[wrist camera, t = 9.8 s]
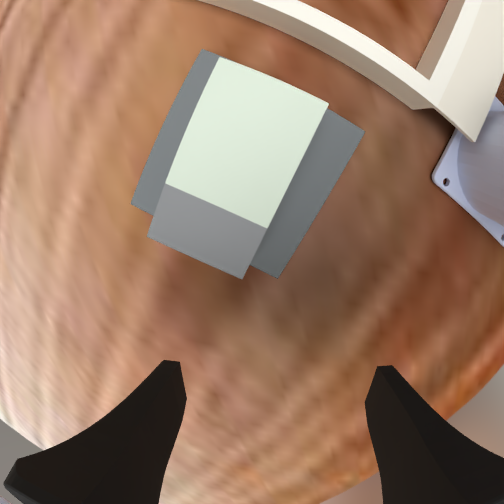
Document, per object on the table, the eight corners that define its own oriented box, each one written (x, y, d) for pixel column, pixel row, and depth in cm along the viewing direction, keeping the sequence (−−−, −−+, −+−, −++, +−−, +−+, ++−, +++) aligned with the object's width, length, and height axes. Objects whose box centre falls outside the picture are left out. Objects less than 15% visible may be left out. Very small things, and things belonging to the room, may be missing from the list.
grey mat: (362, 131, 16) (365, 131, 15) (277, 275, 19) (277, 278, 19) (203, 51, 14) (202, 48, 14) (133, 201, 18) (130, 203, 18)
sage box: (312, 112, 15) (329, 103, 10) (250, 240, 18) (242, 279, 13) (235, 78, 15) (219, 56, 10) (179, 208, 17) (146, 236, 13)
